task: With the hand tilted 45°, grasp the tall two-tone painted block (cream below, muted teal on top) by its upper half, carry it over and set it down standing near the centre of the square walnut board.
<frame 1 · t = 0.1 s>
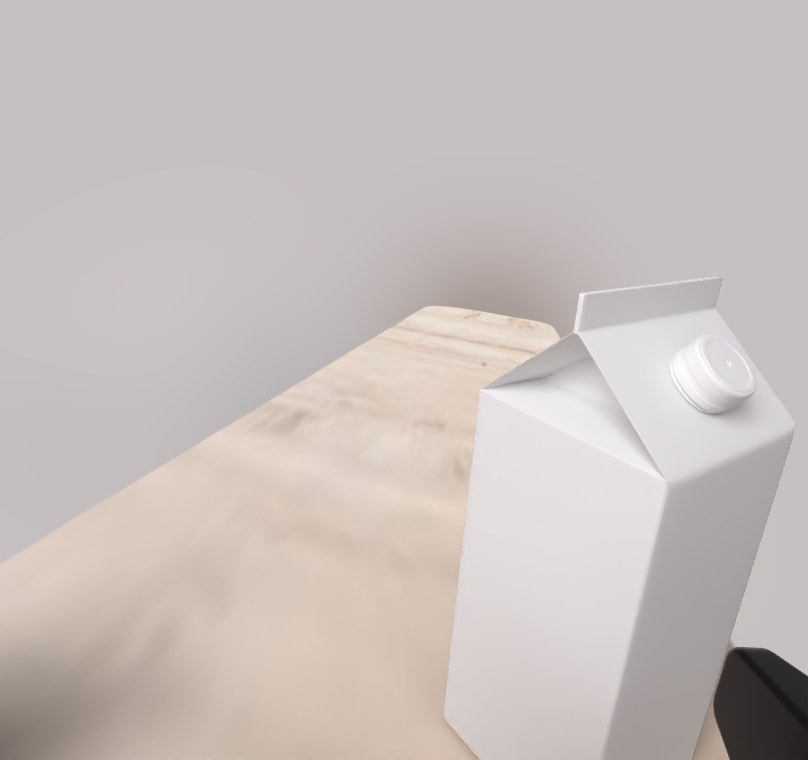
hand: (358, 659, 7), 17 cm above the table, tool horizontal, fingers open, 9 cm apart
milk carton: (561, 747, 25), on the table
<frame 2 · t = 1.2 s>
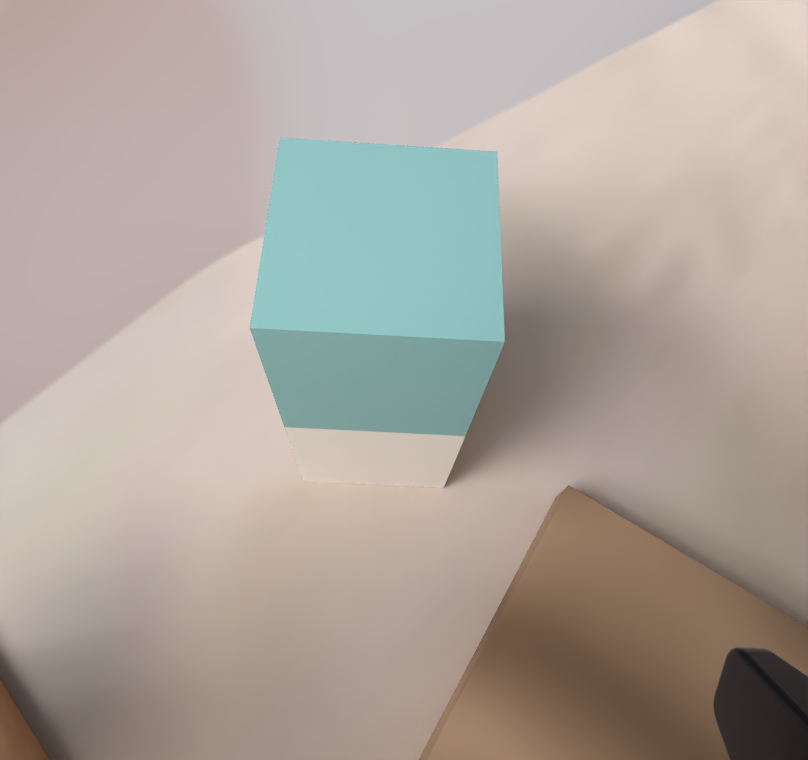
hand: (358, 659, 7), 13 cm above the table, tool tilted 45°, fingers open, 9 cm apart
block: (377, 419, 23), on the table
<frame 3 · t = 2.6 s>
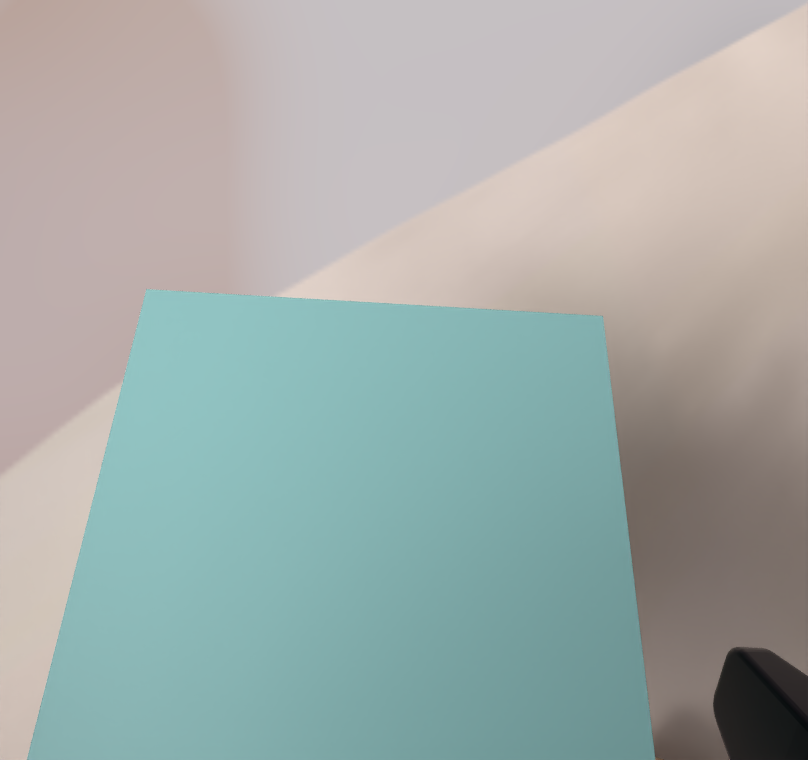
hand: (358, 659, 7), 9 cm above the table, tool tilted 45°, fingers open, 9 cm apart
block: (366, 621, 16), on the table
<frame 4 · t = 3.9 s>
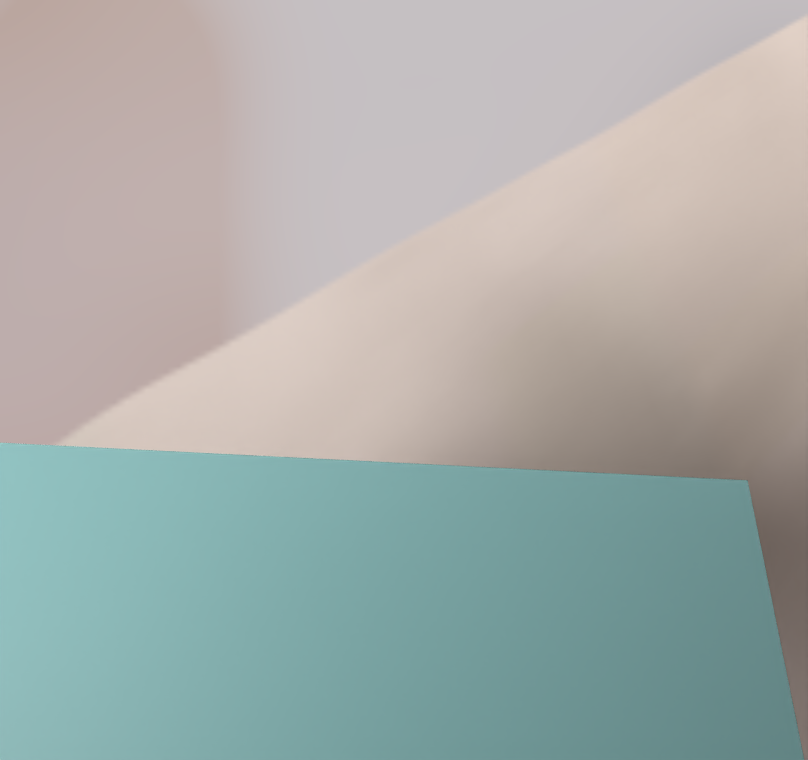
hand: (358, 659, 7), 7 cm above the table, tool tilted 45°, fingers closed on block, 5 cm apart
block: (358, 735, 13), on the table, touching gripper
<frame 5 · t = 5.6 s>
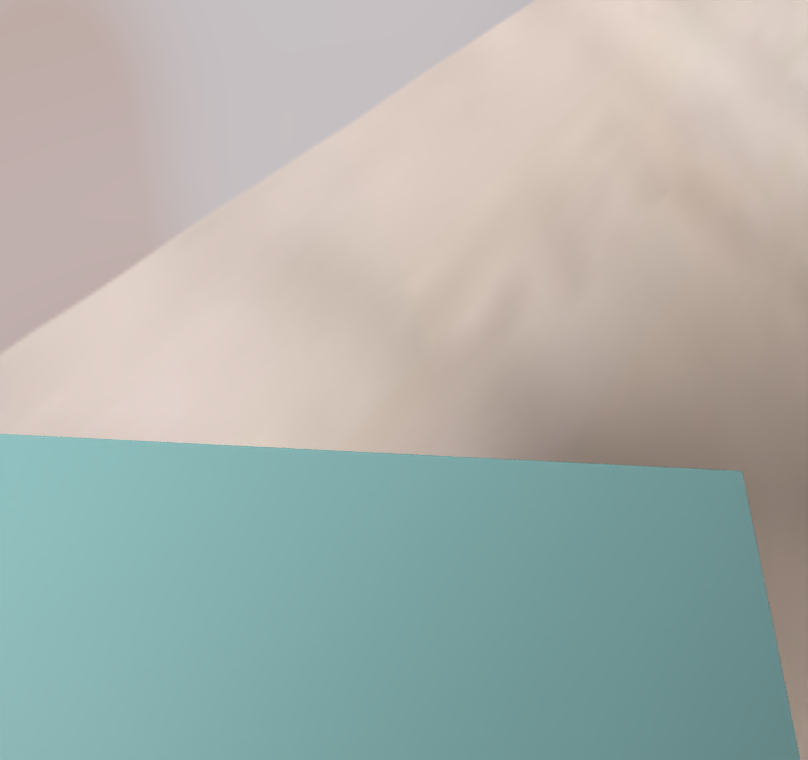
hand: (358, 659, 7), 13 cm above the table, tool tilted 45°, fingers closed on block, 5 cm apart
block: (357, 732, 13), point 7 cm above the table, touching gripper
when the fingers open (9 cm above the table, at t = 7.1 s): block drops 1 cm, resting on board.
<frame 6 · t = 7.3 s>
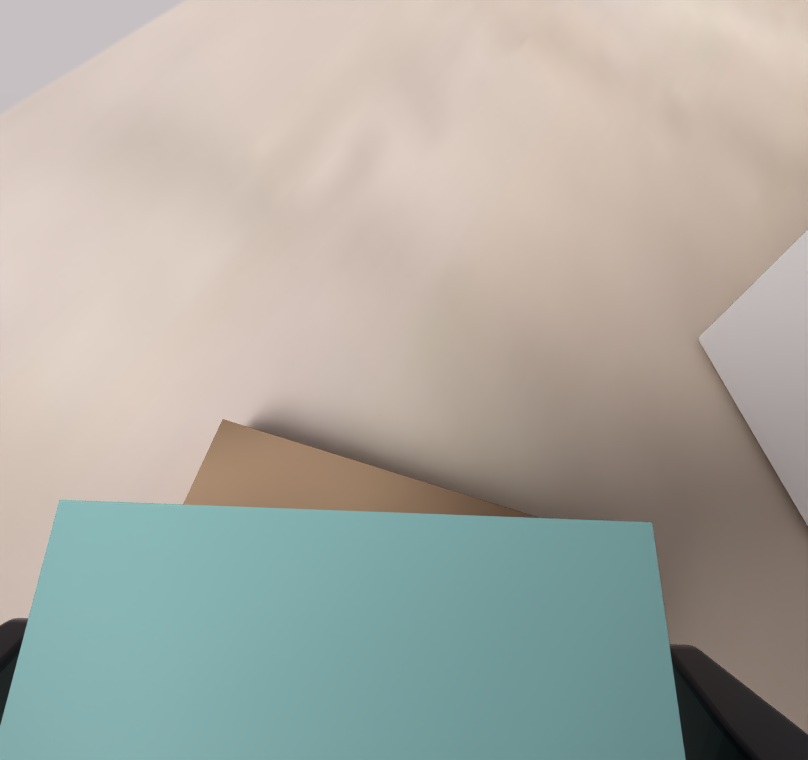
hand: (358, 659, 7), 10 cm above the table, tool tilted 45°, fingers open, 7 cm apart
block: (360, 728, 14), point 1 cm above the table, touching board
board: (360, 722, 16), on the table
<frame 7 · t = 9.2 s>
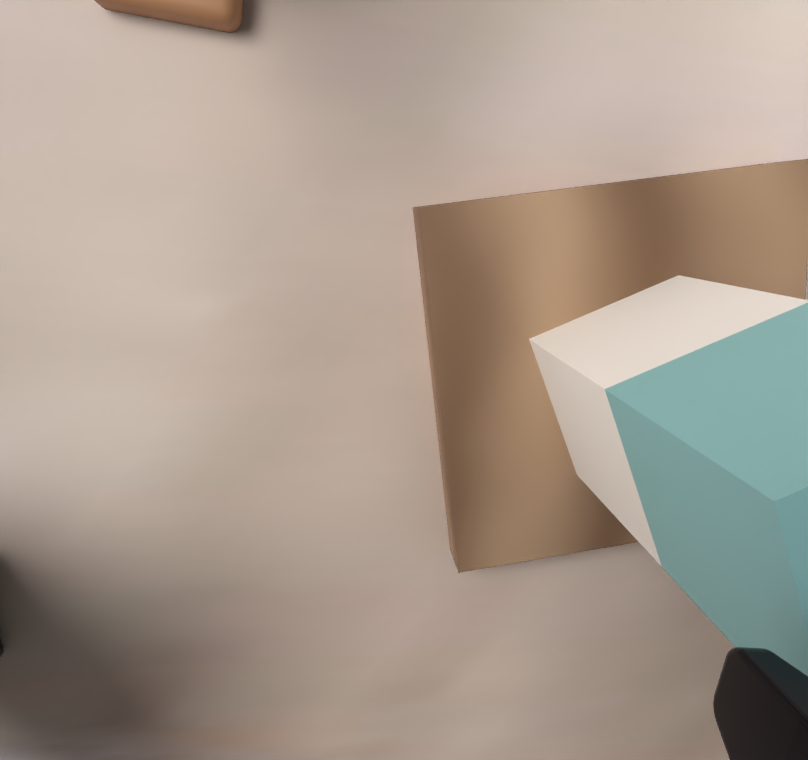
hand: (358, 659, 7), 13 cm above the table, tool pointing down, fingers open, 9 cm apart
block: (625, 378, 20), point 1 cm above the table, touching board
board: (605, 366, 21), on the table
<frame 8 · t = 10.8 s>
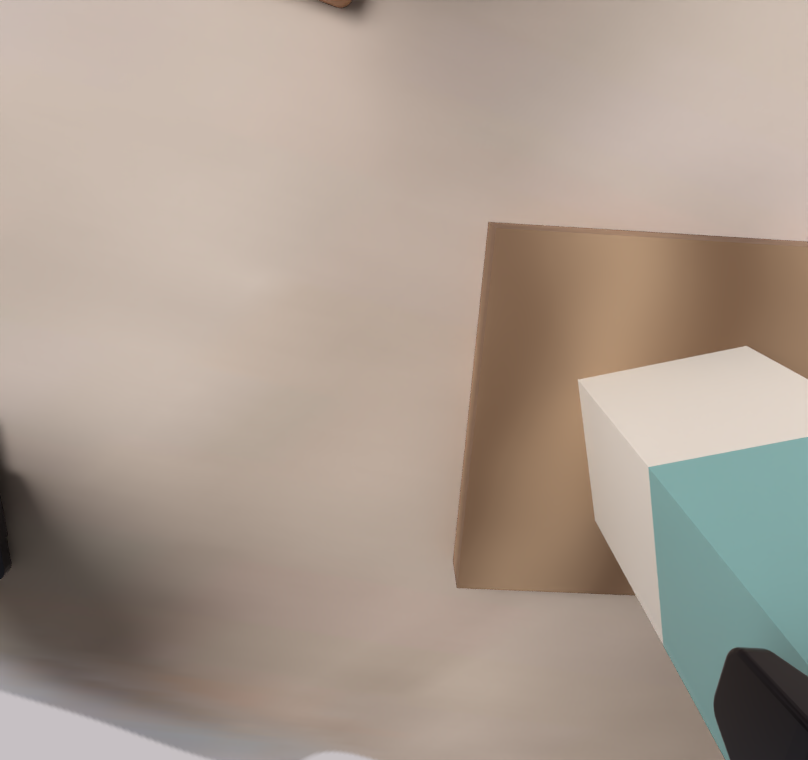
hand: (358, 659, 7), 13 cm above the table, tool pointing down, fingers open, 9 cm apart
block: (666, 437, 19), point 1 cm above the table, touching board
board: (648, 417, 21), on the table
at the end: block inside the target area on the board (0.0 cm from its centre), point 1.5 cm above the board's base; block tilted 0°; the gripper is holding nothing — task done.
